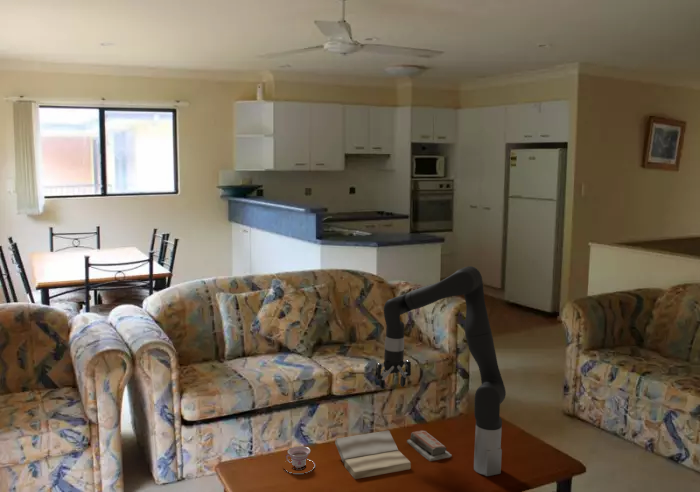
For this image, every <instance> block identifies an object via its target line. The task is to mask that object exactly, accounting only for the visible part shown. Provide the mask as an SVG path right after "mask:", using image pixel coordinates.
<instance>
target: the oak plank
mask: <svg viewBox="0 0 700 492" xmlns="http://www.w3.org/2000/svg"><path fill="white" fill-rule="evenodd" d="M411 464H412V463H411V461H410V460H409V458H407V457H406V456H405V455H404V454H403V453H402V452H401V451H400V450H398V451H393V452H387V453H382V454H376V455H370V456H364V457H358V458H352V459H346V460H345V463H344V467H345V469H346V470H347V471H348V473H349V474H350V475H351V476H352V478H353V479H354V480H358V479H362V478H369V477H374V476H381V475H384V474H390V473H396V472H402V471H406V470H411V466H412V465H411Z"/></svg>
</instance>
